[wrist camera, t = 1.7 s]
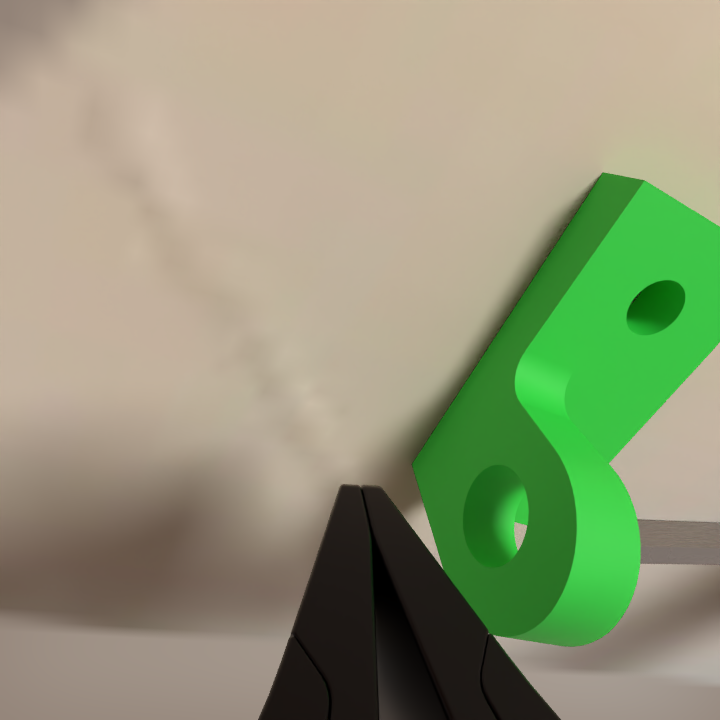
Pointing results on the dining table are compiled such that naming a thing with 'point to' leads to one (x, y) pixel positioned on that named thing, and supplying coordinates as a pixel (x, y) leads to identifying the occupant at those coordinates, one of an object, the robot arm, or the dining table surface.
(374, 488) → the robot arm
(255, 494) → the dining table surface
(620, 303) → the mechanical part
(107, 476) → the dining table surface
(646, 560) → the u-shaped frame
